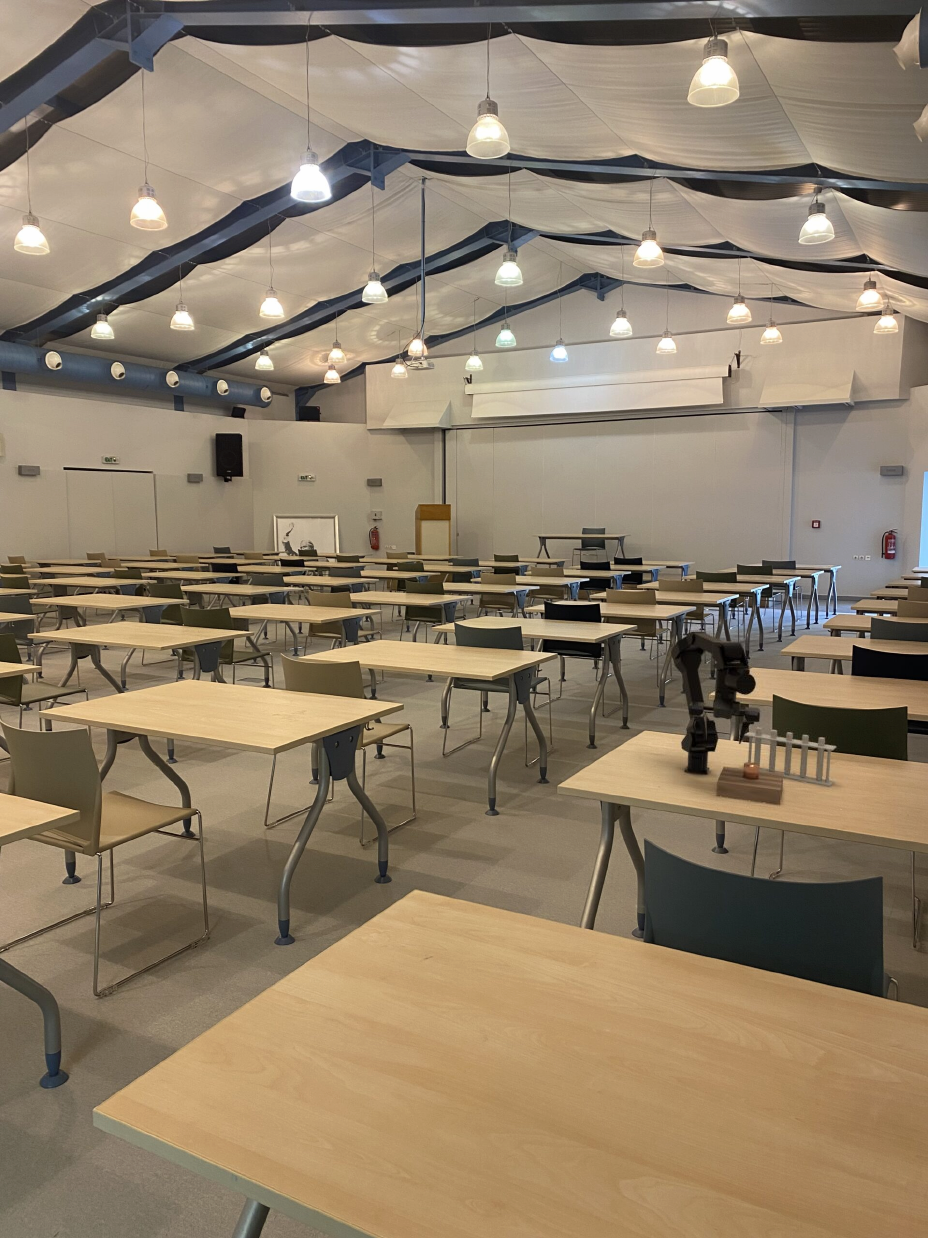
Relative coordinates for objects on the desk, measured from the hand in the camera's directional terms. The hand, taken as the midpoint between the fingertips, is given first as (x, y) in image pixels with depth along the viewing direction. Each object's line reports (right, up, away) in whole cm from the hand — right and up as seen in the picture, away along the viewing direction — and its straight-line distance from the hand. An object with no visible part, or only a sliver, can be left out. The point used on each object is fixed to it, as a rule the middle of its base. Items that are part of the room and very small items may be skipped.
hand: (722, 741), depth 232 cm
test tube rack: (+22, -12, +11) cm, 27 cm away
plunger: (+6, -13, -4) cm, 15 cm away
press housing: (+6, -13, -4) cm, 15 cm away
